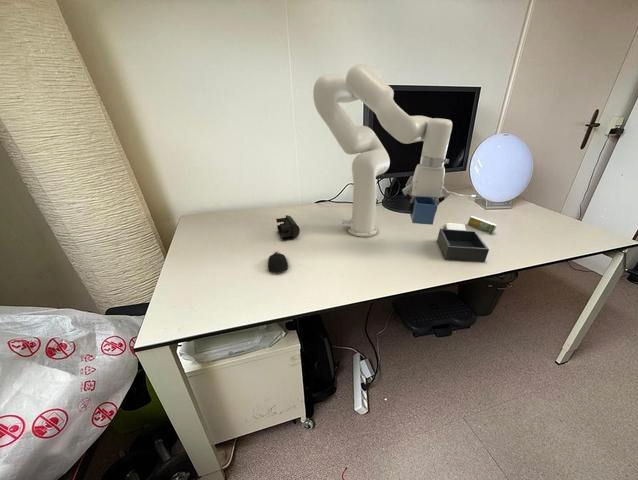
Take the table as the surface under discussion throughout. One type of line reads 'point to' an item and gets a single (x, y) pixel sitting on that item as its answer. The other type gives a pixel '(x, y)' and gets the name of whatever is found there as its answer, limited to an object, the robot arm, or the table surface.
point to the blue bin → (424, 210)
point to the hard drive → (455, 226)
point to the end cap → (288, 228)
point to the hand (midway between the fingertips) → (421, 213)
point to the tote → (462, 245)
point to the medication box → (482, 225)
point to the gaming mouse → (277, 263)
